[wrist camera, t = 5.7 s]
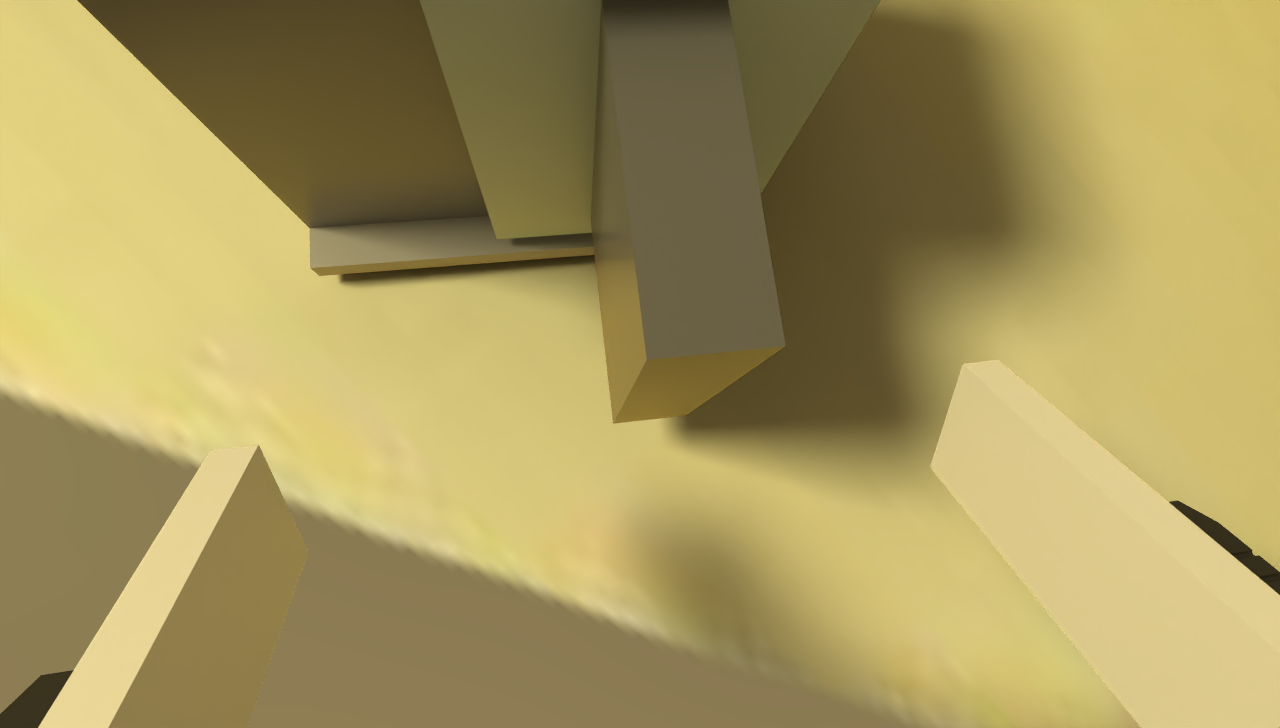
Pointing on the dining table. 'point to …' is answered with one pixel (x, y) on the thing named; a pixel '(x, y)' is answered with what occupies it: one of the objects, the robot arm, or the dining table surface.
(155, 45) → the camera box
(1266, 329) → the dining table surface
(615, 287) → the door
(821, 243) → the dining table surface
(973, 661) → the dining table surface
